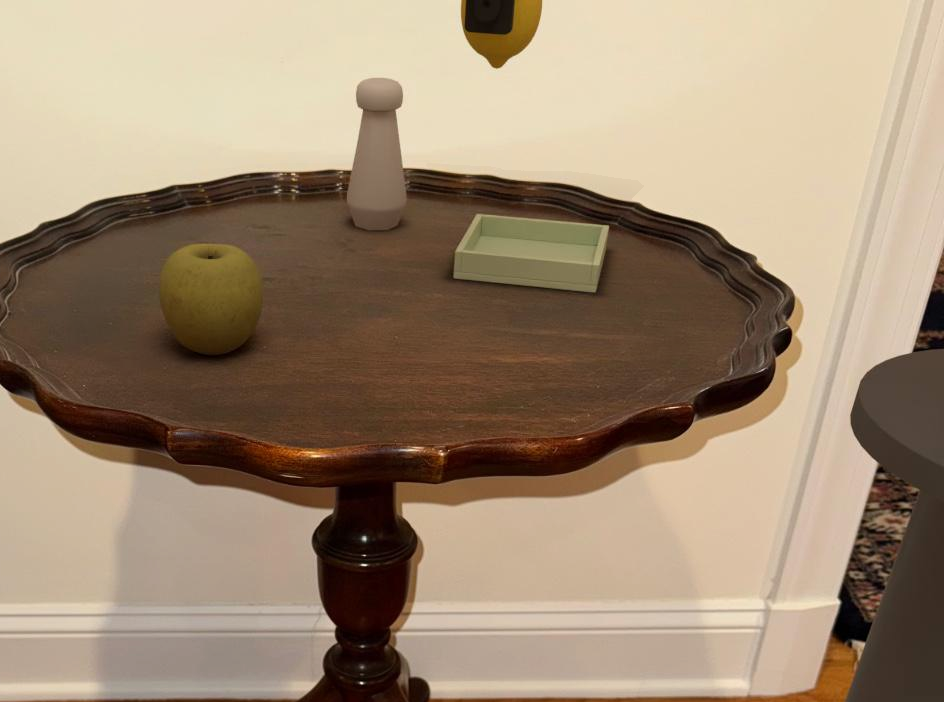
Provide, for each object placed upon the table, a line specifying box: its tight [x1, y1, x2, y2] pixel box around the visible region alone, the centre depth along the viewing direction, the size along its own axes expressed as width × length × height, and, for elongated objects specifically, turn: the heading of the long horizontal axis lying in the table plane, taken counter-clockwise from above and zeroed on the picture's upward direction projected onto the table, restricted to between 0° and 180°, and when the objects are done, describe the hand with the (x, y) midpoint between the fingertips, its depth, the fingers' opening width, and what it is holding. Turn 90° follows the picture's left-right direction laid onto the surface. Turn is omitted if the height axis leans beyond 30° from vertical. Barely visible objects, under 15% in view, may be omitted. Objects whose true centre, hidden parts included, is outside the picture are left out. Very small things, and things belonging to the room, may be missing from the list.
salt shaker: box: [346, 77, 408, 231], centre depth 106 cm, size 6×6×13 cm
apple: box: [158, 243, 264, 356], centre depth 83 cm, size 8×8×7 cm
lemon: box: [460, 0, 543, 69], centre depth 77 cm, size 6×6×8 cm
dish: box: [452, 213, 610, 294], centre depth 100 cm, size 12×11×2 cm
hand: (500, 22), depth 78 cm, fingers closed on lemon, 5 cm apart
